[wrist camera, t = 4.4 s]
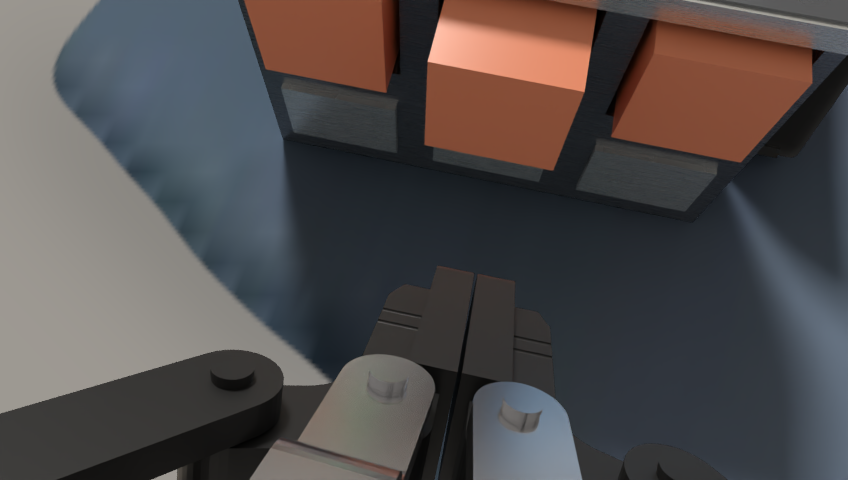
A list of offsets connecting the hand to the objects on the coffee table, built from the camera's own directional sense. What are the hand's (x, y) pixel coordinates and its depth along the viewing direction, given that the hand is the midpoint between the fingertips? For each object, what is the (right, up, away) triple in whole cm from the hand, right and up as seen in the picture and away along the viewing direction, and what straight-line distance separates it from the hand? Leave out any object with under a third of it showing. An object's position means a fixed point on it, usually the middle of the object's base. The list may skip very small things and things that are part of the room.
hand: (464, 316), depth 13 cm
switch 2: (+2, +7, +14) cm, 16 cm away
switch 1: (-4, +10, +15) cm, 19 cm away
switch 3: (+9, +7, +14) cm, 18 cm away
